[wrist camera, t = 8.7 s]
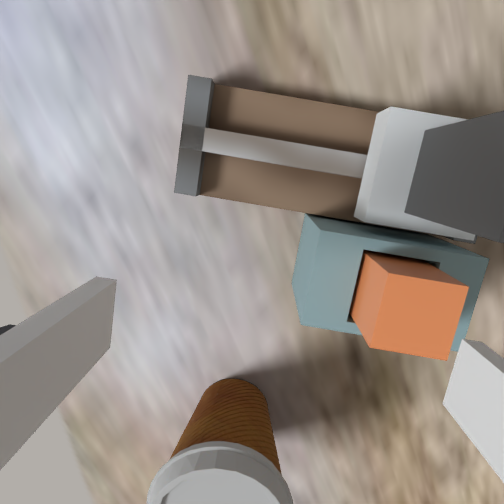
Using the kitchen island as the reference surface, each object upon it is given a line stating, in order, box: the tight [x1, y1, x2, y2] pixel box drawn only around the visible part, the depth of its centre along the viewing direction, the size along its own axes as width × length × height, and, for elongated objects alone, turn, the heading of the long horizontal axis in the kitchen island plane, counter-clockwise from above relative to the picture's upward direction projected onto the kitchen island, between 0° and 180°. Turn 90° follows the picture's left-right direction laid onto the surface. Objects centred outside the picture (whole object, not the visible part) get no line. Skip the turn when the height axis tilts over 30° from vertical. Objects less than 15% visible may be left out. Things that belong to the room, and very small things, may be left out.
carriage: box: [354, 107, 504, 243], centre depth 20 cm, size 7×7×13 cm
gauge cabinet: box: [292, 213, 489, 352], centre depth 28 cm, size 6×11×9 cm, turn 80°
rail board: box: [174, 75, 477, 244], centre depth 29 cm, size 8×22×4 cm, turn 81°
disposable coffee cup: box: [147, 379, 293, 504], centre depth 29 cm, size 10×10×12 cm
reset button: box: [349, 250, 469, 361], centre depth 23 cm, size 4×4×7 cm
